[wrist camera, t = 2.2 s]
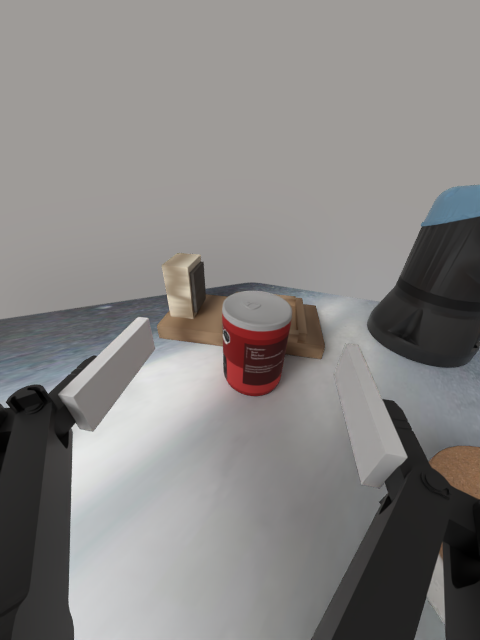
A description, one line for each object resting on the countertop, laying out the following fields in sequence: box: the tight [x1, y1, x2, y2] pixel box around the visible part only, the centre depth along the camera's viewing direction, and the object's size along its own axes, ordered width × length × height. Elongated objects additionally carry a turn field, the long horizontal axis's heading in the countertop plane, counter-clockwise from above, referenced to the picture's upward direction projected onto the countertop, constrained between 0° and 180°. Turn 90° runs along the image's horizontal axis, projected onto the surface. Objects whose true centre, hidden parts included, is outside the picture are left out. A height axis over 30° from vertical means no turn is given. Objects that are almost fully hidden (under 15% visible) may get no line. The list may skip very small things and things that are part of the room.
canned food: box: [222, 291, 292, 396], centre depth 28 cm, size 8×8×11 cm
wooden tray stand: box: [157, 253, 325, 359], centre depth 37 cm, size 26×12×12 cm, turn 80°
